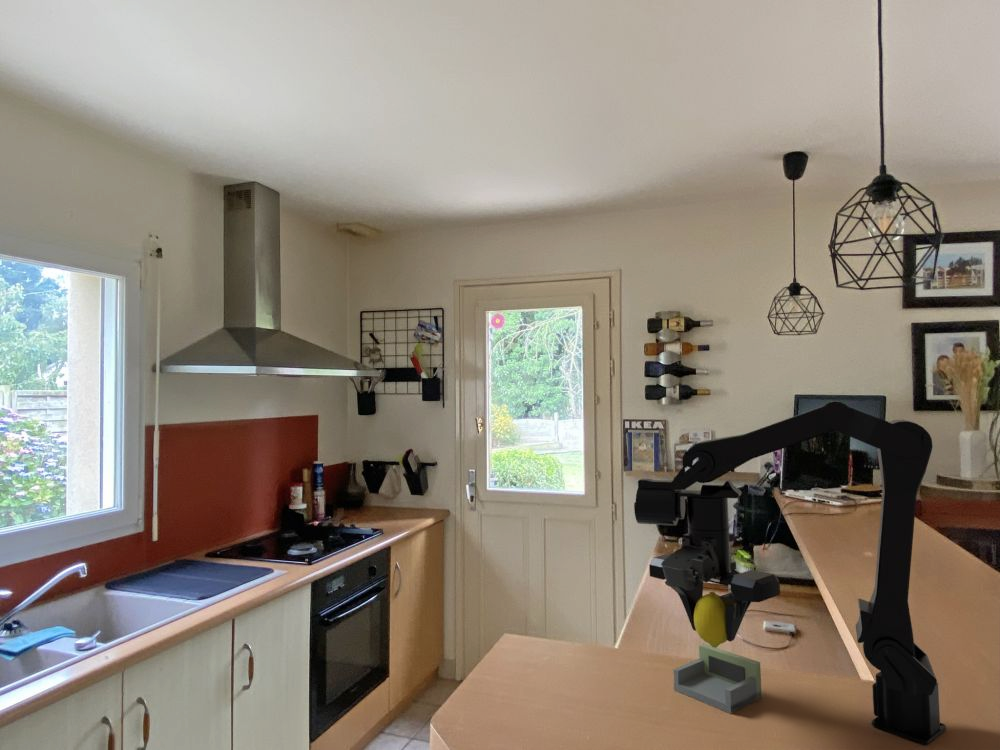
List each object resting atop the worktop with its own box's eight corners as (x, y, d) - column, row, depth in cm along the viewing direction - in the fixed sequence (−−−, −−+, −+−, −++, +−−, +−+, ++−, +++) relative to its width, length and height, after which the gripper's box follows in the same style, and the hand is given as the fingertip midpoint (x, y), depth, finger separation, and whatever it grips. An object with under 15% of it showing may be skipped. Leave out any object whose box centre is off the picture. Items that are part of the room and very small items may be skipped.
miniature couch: (761, 697, 94) (760, 662, 94) (730, 713, 90) (729, 676, 90) (705, 676, 102) (703, 643, 102) (673, 689, 97) (672, 655, 98)
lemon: (725, 639, 99) (723, 585, 99) (740, 654, 93) (738, 597, 93) (689, 641, 98) (687, 587, 99) (702, 655, 93) (700, 598, 93)
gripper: (622, 526, 99) (627, 631, 98) (731, 545, 84) (737, 669, 83) (670, 516, 106) (674, 615, 105) (779, 533, 91) (785, 648, 90)
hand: (713, 635), depth 96 cm, fingers closed on lemon, 5 cm apart
